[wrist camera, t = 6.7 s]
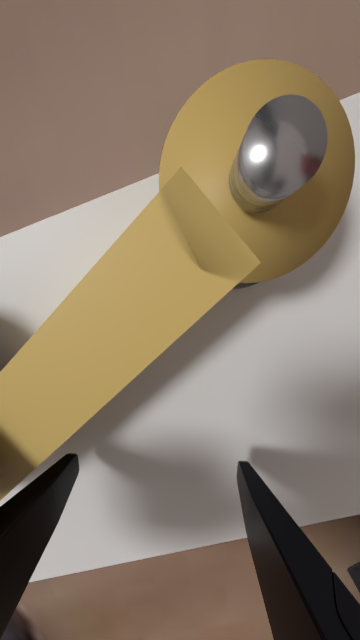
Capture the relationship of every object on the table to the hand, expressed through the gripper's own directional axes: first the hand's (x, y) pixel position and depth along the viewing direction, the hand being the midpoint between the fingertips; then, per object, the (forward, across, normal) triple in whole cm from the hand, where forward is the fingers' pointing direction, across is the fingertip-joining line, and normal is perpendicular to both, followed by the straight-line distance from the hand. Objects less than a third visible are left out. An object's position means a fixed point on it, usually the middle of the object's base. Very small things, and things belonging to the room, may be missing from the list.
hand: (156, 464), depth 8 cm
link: (0, +1, -6) cm, 6 cm away
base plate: (+2, 0, -2) cm, 3 cm away
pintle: (+2, -3, -10) cm, 11 cm away
